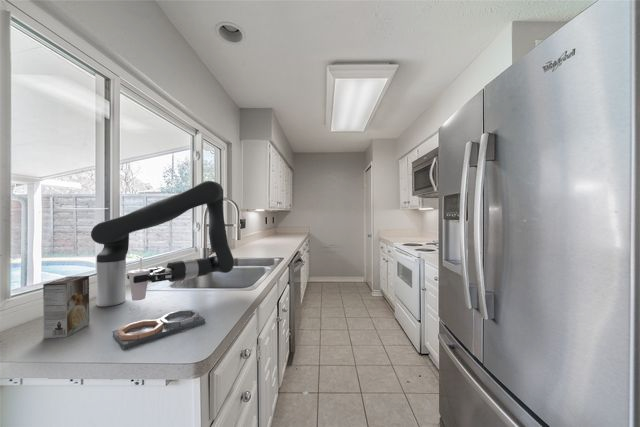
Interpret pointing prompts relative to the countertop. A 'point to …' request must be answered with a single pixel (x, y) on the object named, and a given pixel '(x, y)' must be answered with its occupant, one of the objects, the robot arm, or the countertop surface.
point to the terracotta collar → (143, 334)
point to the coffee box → (65, 306)
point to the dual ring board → (160, 334)
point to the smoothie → (138, 288)
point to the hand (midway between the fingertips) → (130, 278)
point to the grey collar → (182, 322)
